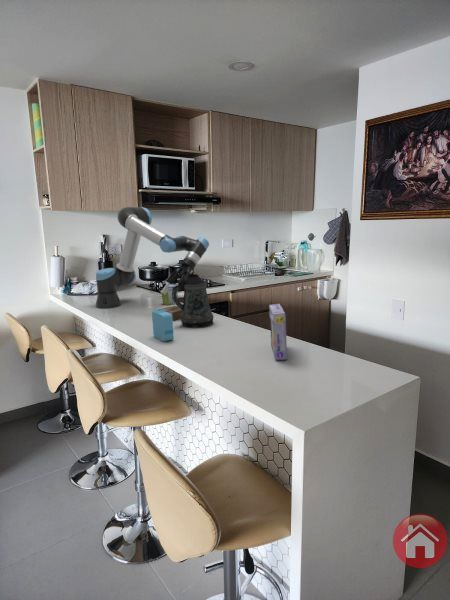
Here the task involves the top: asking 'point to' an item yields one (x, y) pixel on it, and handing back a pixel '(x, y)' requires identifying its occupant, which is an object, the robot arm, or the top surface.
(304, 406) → the top surface
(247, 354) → the top surface
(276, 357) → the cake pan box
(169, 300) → the medicine box
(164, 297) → the plant pot
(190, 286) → the beer stein
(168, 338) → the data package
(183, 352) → the top surface
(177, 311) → the walnut block
